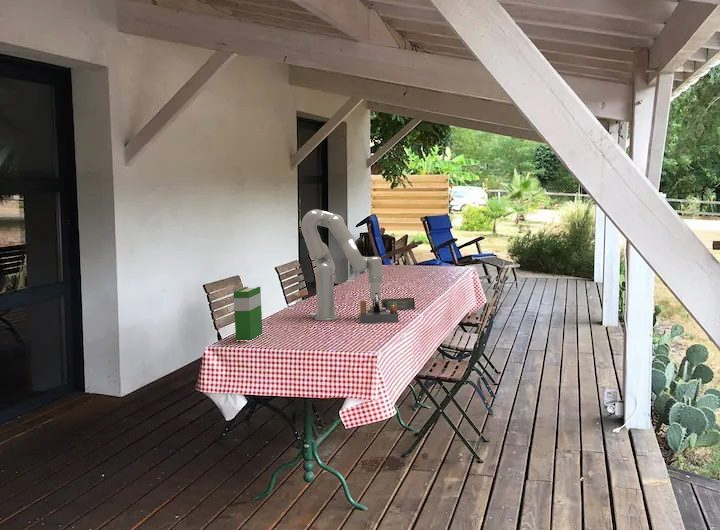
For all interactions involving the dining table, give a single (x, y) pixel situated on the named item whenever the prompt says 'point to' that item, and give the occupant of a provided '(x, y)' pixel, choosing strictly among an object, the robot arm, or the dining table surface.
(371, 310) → the white box
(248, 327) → the green cereal box
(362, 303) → the plane body
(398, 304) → the beverage carton
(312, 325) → the dining table surface
